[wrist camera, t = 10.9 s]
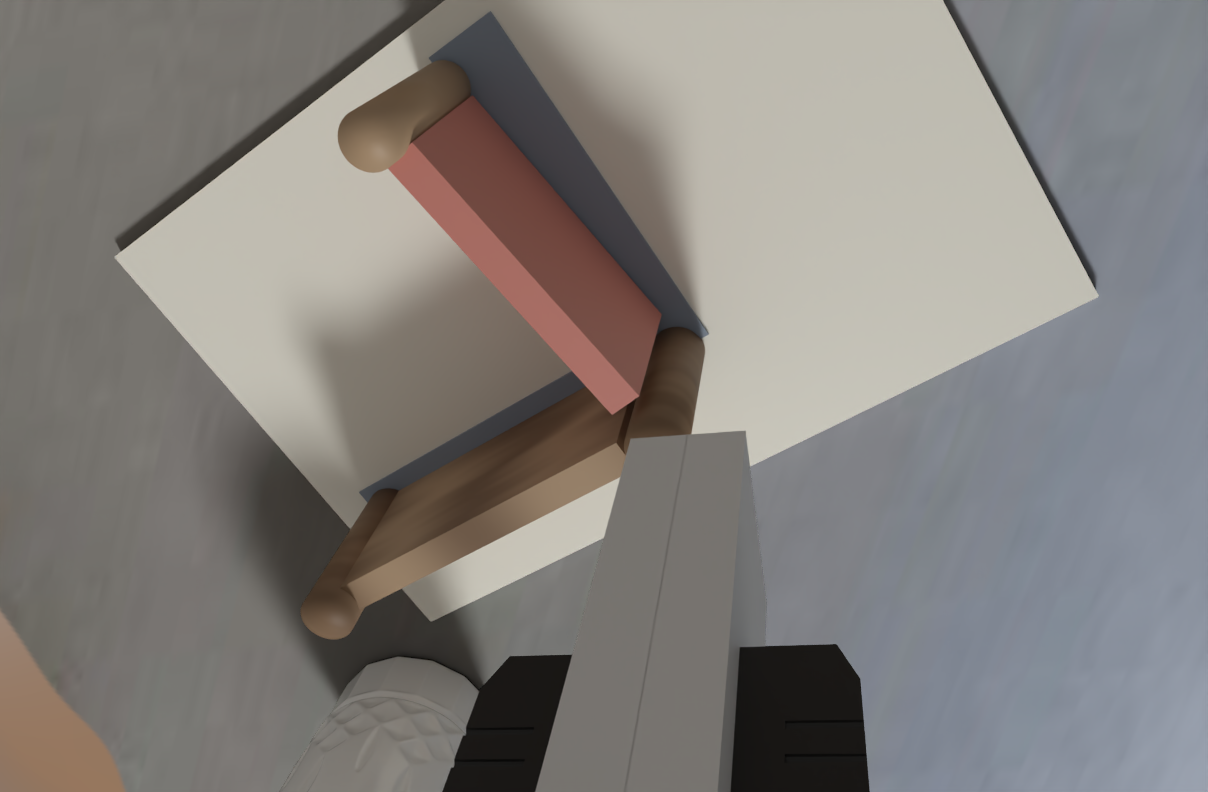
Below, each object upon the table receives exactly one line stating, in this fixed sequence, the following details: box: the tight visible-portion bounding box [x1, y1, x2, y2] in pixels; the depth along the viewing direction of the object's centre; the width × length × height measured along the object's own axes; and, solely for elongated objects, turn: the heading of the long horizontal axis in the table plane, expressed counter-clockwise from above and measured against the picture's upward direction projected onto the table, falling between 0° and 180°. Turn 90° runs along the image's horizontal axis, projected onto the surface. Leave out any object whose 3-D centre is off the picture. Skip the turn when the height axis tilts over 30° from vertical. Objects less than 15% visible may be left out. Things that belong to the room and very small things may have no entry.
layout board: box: [115, 0, 1099, 622], centre depth 35 cm, size 27×18×1 cm, turn 125°
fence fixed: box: [301, 327, 705, 639], centre depth 35 cm, size 15×2×6 cm, turn 125°
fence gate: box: [338, 60, 662, 415], centre depth 30 cm, size 10×2×7 cm, turn 41°
